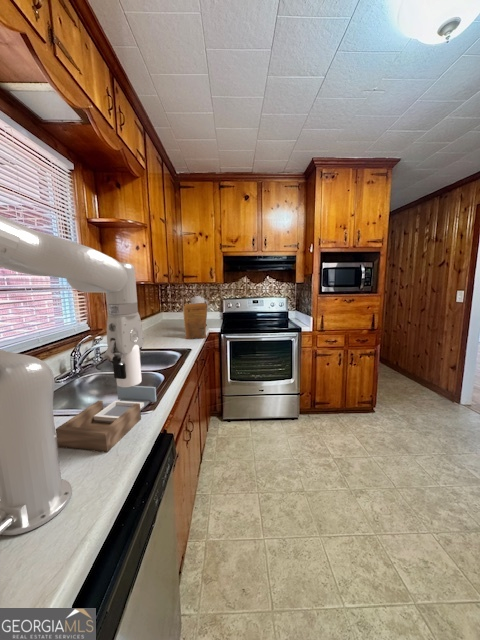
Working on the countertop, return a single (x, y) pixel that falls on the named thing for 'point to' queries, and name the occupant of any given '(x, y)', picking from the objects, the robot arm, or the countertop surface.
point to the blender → (198, 301)
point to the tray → (126, 402)
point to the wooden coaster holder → (96, 429)
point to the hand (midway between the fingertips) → (128, 373)
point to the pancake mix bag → (195, 320)
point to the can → (131, 369)
